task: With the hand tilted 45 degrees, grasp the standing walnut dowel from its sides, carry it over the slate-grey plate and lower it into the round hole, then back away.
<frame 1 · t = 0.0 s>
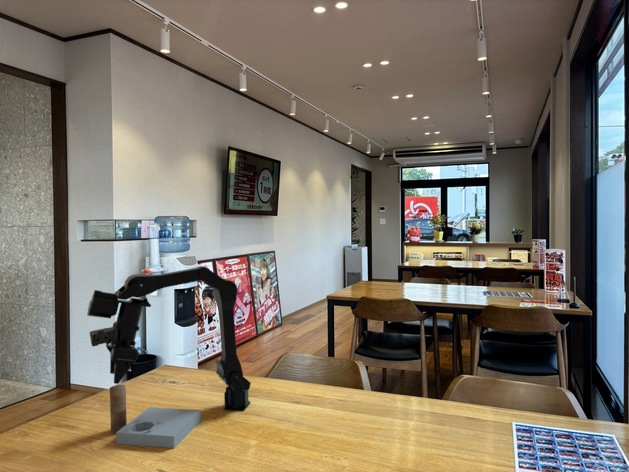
hand: (114, 378, 118), 15 cm above the table, tool pointing down, fingers open, 9 cm apart
peg: (118, 430, 121), on the table
plate: (161, 431, 120), on the table
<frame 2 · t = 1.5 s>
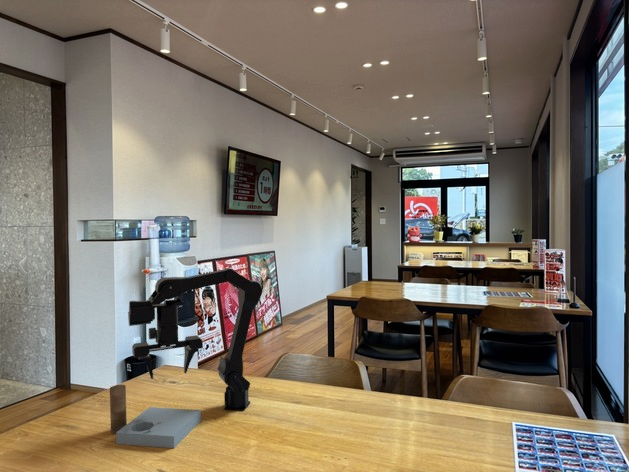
hand: (168, 375, 126), 13 cm above the table, tool pointing down, fingers open, 9 cm apart
nothing on the table moved.
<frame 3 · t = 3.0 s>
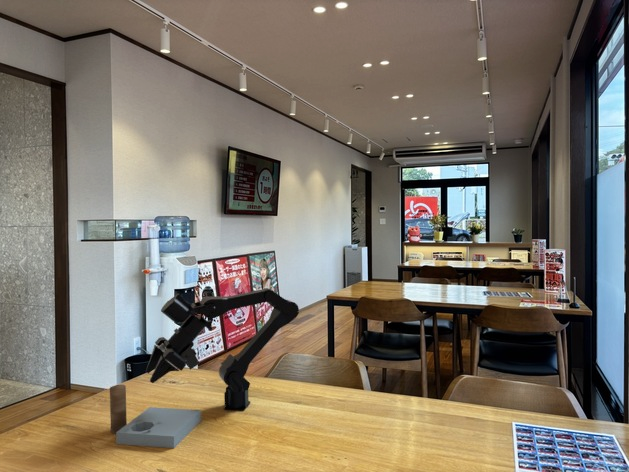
hand: (149, 377, 124), 13 cm above the table, tool tilted 45°, fingers open, 9 cm apart
nothing on the table moved.
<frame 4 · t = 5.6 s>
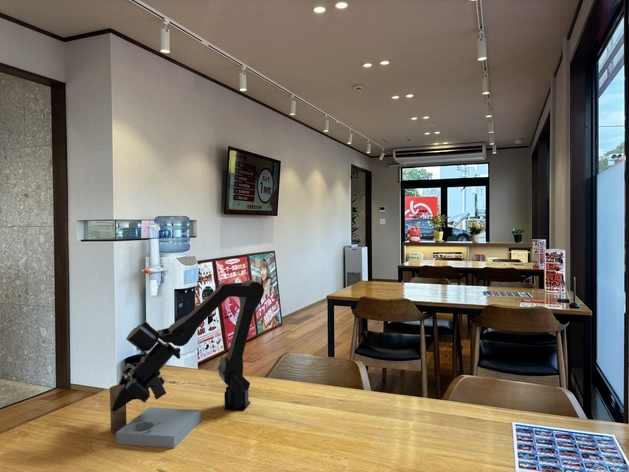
hand: (112, 407, 120), 7 cm above the table, tool tilted 45°, fingers closed on peg, 4 cm apart
peg: (118, 430, 121), on the table, touching gripper
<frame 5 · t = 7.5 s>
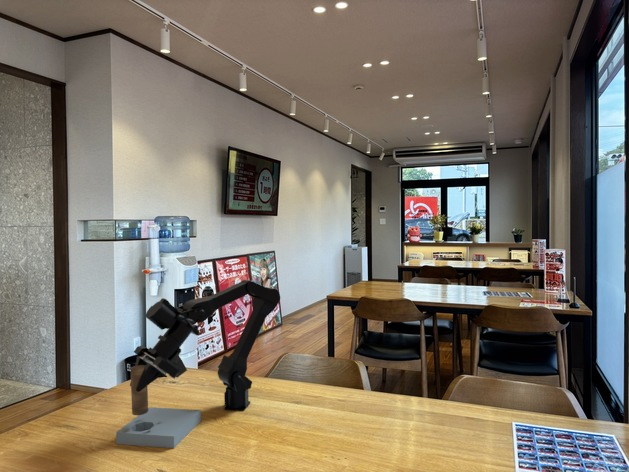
hand: (134, 388, 115), 13 cm above the table, tool tilted 45°, fingers closed on peg, 4 cm apart
peg: (140, 412, 116), point 7 cm above the table, touching gripper
when the fingers open (8 cm above the table, at t = 9.2 s): peg drops 1 cm, resting in plate.
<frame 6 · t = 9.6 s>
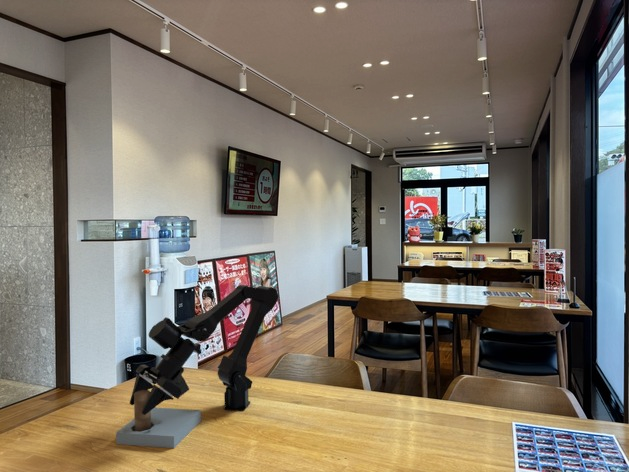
hand: (136, 409, 115), 8 cm above the table, tool tilted 45°, fingers open, 8 cm apart
peg: (143, 437, 116), resting in plate
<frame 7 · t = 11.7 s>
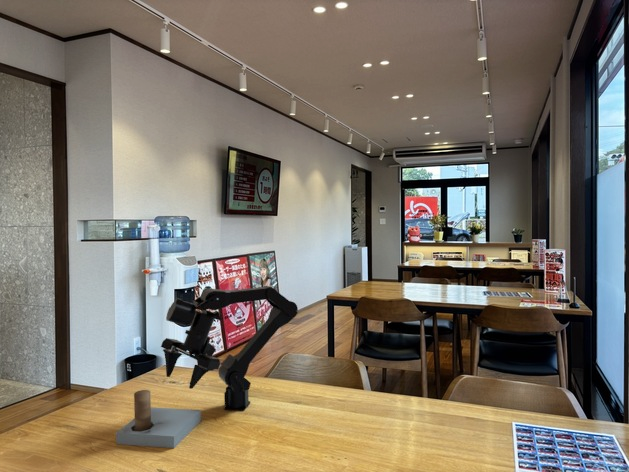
hand: (179, 382, 127), 11 cm above the table, tool tilted 25°, fingers open, 9 cm apart
nothing on the table moved.
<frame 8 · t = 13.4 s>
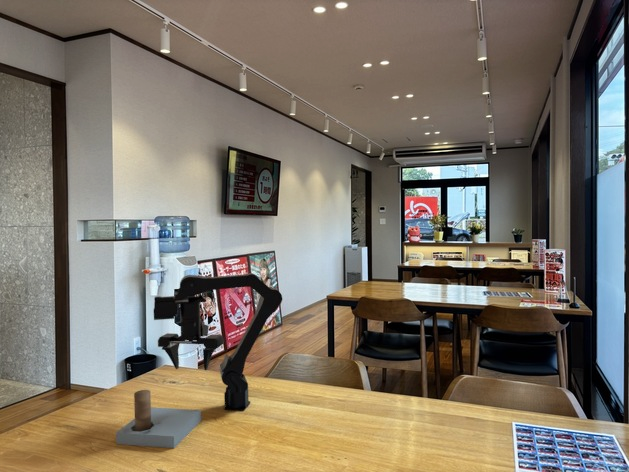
hand: (191, 369, 132), 13 cm above the table, tool pointing down, fingers open, 9 cm apart
nothing on the table moved.
at the end: peg 0.1 cm from the target spot on the plate, point 0.0 cm above the plate's base; peg tilted 0°; the gripper is holding nothing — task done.
